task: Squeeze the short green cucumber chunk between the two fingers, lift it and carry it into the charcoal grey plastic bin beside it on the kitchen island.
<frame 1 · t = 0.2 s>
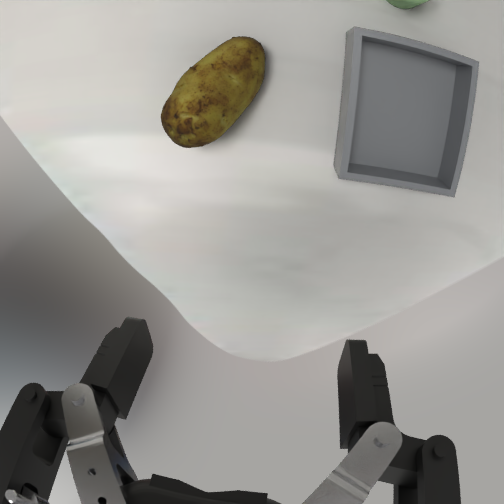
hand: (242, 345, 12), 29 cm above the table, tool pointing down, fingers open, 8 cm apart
potato: (225, 89, 33), on the table
bin: (399, 109, 31), on the table
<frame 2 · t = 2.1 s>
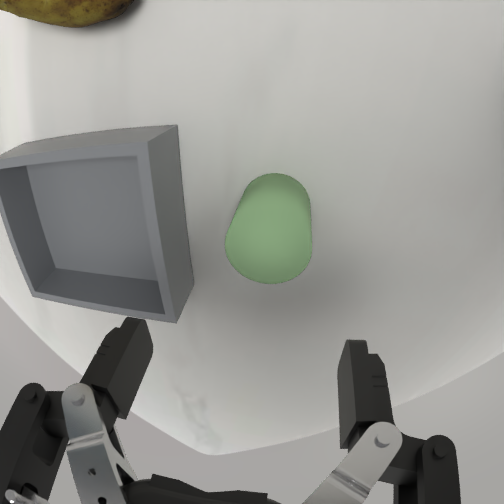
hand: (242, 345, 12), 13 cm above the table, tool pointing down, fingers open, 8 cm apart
bin: (100, 210, 26), on the table
cucumber chunk: (275, 205, 24), on the table
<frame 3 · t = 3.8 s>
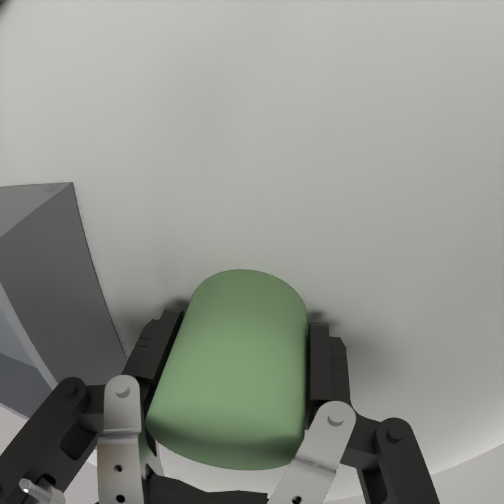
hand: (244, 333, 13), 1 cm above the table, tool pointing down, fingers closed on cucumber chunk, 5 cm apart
bin: (9, 293, 16), on the table
cucumber chunk: (247, 317, 14), on the table, touching gripper
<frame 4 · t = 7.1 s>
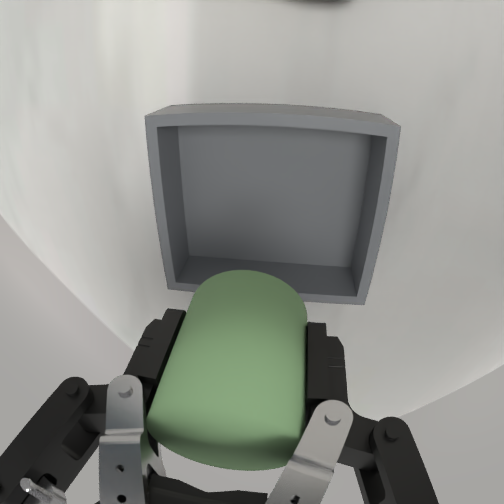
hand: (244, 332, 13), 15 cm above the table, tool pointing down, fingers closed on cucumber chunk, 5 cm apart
bin: (272, 190, 26), on the table
cucumber chunk: (248, 317, 14), point 14 cm above the table, touching gripper
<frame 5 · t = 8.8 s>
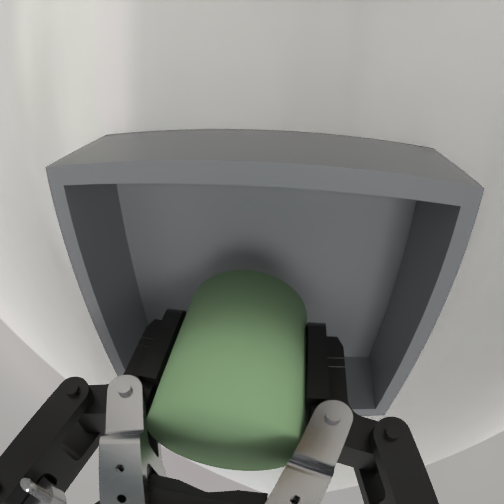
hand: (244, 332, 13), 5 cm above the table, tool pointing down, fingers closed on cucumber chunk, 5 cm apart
bin: (262, 261, 17), on the table
cucumber chunk: (248, 317, 14), point 4 cm above the table, touching gripper
when the fingers open (3 cm above the table, at t = 10.1 s): cucumber chunk drops 1 cm, resting on bin.
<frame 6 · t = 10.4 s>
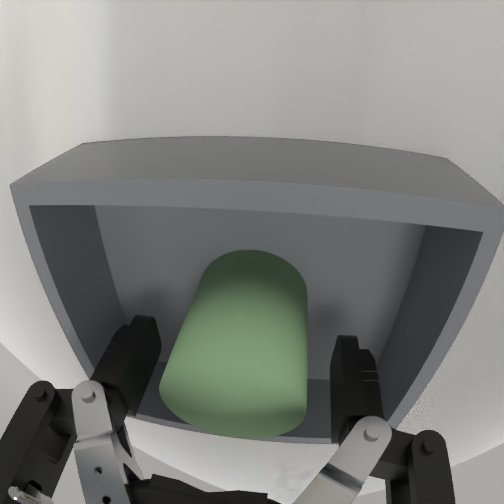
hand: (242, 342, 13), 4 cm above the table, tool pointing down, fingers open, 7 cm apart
bin: (254, 282, 16), on the table
cucumber chunk: (252, 295, 15), point 1 cm above the table, touching bin
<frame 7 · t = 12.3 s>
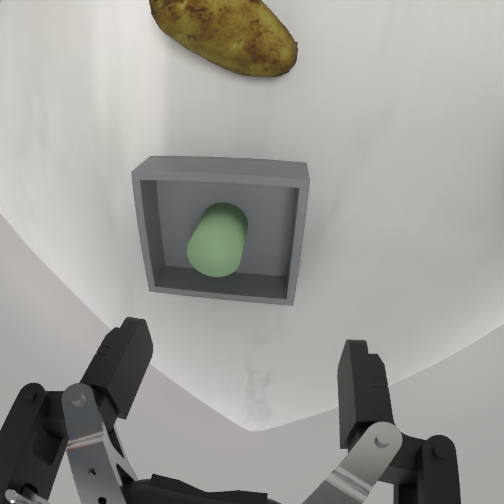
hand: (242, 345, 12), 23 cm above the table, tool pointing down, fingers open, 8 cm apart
potato: (230, 29, 25), on the table
bin: (225, 219, 35), on the table
cucumber chunk: (224, 223, 34), point 1 cm above the table, touching bin
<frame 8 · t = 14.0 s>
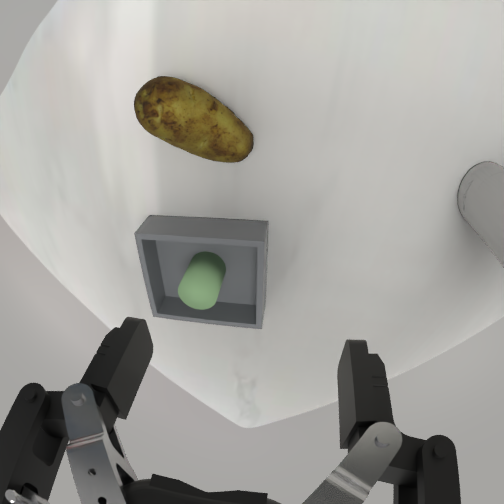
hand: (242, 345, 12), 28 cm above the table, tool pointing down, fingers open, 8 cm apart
potato: (203, 117, 35), on the table
bin: (209, 262, 45), on the table
cucumber chunk: (208, 266, 45), point 1 cm above the table, touching bin
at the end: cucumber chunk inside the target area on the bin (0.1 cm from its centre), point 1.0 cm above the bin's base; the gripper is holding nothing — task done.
